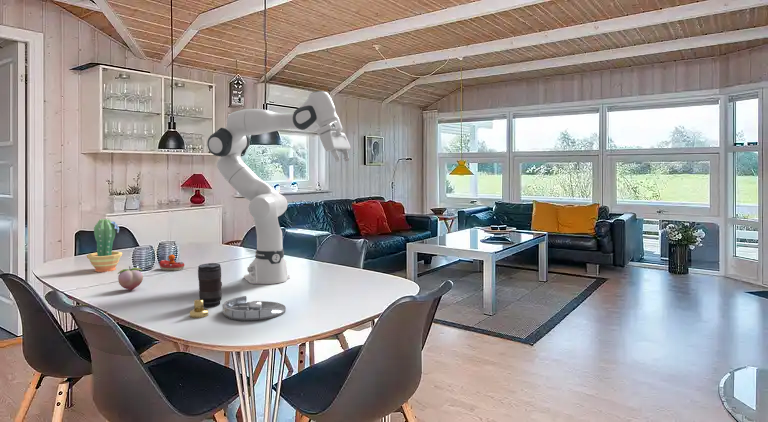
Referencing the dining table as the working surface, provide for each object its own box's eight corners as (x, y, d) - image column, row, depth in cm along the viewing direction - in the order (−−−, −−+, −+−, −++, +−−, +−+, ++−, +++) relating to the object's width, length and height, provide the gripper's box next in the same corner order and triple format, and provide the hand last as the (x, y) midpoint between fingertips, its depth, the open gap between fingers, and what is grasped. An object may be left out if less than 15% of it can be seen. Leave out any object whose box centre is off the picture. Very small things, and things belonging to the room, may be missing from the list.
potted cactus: (112, 273, 242) (110, 221, 240) (80, 273, 243) (77, 220, 240) (129, 266, 258) (127, 217, 256) (98, 266, 258) (96, 217, 256)
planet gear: (187, 315, 176) (186, 299, 176) (204, 312, 180) (204, 297, 179) (193, 319, 172) (192, 303, 171) (210, 316, 175) (210, 300, 175)
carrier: (213, 310, 182) (212, 301, 181) (268, 300, 195) (268, 291, 195) (238, 325, 165) (237, 315, 164) (297, 313, 178) (297, 304, 178)
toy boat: (165, 267, 257) (164, 252, 256) (186, 268, 255) (186, 253, 255) (156, 270, 250) (155, 255, 249) (178, 271, 248) (178, 256, 247)
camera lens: (202, 302, 193) (201, 262, 192) (224, 301, 194) (223, 262, 192) (196, 308, 185) (195, 267, 183) (219, 307, 186) (218, 266, 184)
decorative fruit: (138, 286, 217) (137, 263, 216) (146, 290, 211) (145, 266, 210) (114, 290, 210) (113, 266, 209) (121, 293, 204) (120, 269, 204)
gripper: (334, 133, 217) (345, 163, 217) (314, 130, 198) (326, 164, 198) (347, 127, 215) (358, 158, 215) (328, 124, 196) (340, 158, 196)
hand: (343, 161), depth 206 cm, fingers open, 8 cm apart
